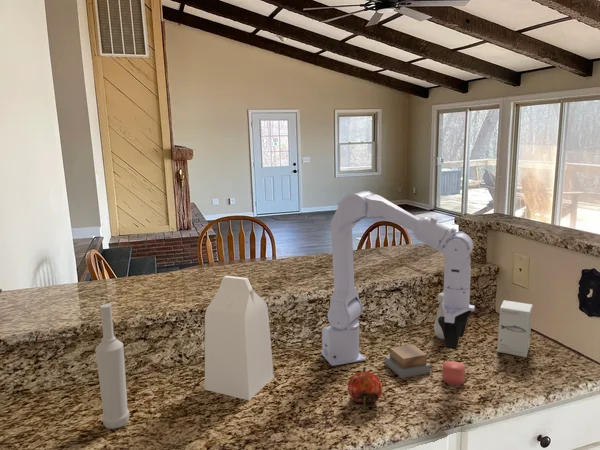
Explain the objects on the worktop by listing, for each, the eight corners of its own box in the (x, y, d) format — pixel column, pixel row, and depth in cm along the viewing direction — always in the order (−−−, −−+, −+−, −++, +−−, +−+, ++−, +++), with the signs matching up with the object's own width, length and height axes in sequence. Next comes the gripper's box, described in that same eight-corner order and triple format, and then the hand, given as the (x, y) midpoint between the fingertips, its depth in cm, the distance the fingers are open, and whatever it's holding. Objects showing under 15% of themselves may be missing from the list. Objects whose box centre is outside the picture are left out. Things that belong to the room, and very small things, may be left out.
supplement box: (496, 352, 122) (498, 307, 120) (500, 342, 128) (503, 299, 126) (527, 358, 118) (530, 311, 116) (530, 347, 125) (533, 303, 122)
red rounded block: (450, 387, 105) (451, 372, 105) (437, 377, 110) (438, 363, 109) (469, 383, 107) (469, 369, 106) (455, 373, 111) (456, 359, 111)
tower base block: (401, 380, 110) (401, 370, 109) (385, 365, 117) (385, 356, 117) (430, 374, 112) (430, 365, 112) (412, 360, 120) (412, 351, 119)
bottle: (107, 415, 96) (96, 302, 92) (132, 413, 97) (123, 300, 93) (99, 430, 91) (87, 310, 87) (125, 428, 92) (115, 309, 88)
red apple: (383, 420, 96) (387, 376, 103) (377, 406, 92) (381, 360, 98) (349, 418, 99) (355, 374, 106) (341, 403, 94) (347, 359, 101)
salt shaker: (455, 341, 129) (457, 297, 127) (434, 340, 131) (436, 296, 128) (453, 333, 135) (454, 291, 133) (432, 332, 136) (434, 290, 134)
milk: (273, 376, 111) (270, 273, 107) (249, 400, 101) (244, 287, 97) (232, 368, 116) (227, 268, 112) (204, 389, 106) (198, 281, 102)
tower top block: (403, 368, 110) (403, 358, 110) (389, 357, 116) (389, 348, 116) (426, 364, 112) (426, 354, 112) (412, 353, 118) (412, 344, 118)
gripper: (469, 297, 96) (466, 358, 99) (480, 280, 109) (478, 334, 111) (435, 293, 100) (433, 351, 102) (449, 276, 112) (448, 328, 115)
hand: (454, 342), depth 107 cm, fingers open, 7 cm apart
